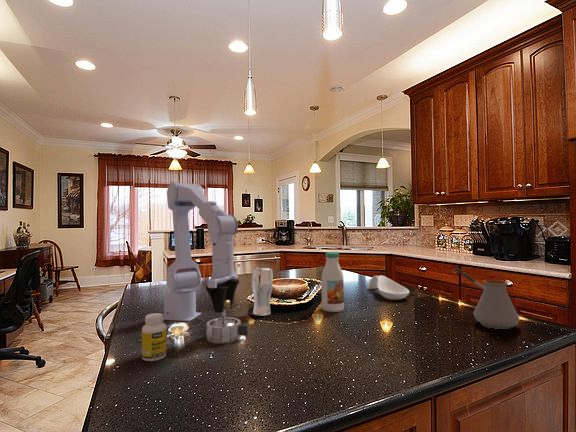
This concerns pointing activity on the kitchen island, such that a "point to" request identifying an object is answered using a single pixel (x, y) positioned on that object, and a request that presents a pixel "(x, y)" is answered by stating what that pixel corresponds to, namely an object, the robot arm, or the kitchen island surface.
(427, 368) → the kitchen island surface
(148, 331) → the supplement bottle
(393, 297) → the spoon rest
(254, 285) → the beer glass
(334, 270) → the milk bottle
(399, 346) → the kitchen island surface
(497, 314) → the coffee pot
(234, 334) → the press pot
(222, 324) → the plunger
